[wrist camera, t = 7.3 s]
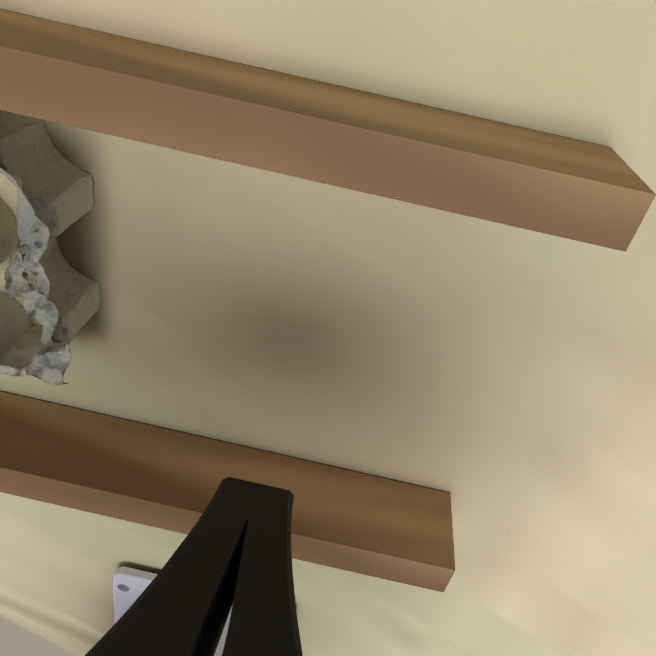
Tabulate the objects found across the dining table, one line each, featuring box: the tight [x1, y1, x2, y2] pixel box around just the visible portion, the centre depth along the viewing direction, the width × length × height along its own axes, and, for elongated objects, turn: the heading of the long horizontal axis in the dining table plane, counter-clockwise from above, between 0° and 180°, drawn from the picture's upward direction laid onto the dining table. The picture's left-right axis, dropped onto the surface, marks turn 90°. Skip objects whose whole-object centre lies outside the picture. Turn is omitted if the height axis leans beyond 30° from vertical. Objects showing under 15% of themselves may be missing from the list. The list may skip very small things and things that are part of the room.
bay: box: [0, 9, 656, 592], centre depth 15 cm, size 13×25×4 cm, turn 79°
